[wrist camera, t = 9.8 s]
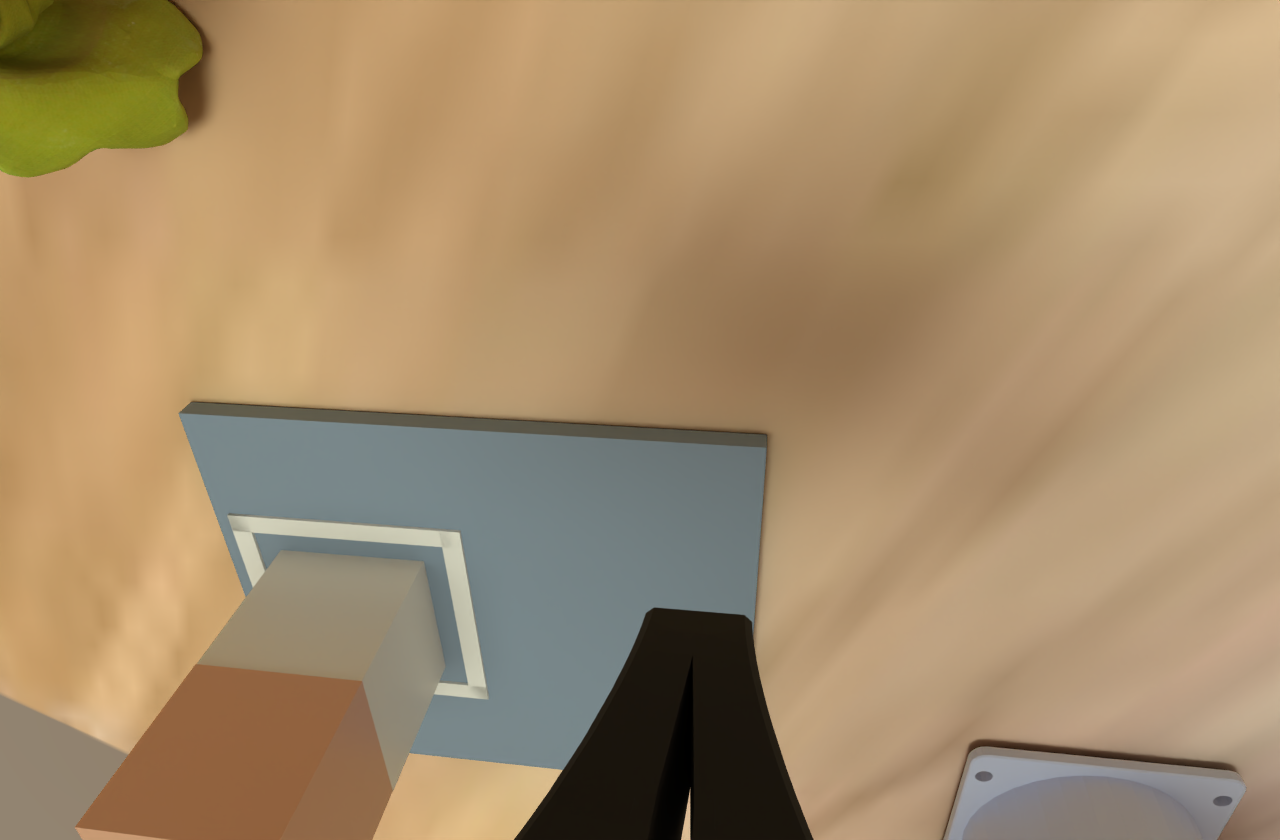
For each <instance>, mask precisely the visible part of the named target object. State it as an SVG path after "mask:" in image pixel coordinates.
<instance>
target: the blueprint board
mask: <svg viewBox="0 0 1280 840" xmlns="http://www.w3.org/2000/svg"><path fill="white" fill-rule="evenodd" d="M179 416H180V419H181V421H182V424H183V427H184V430H185V432H186V435H187V438H188V440H189V443H190V446H191V449H192V451H193V454H194V457H195V460H196V462H197V465H198V468H199V470H200V473H201V476H202V479H203V481H204V484H205V487H206V490H207V492H208V495H209V498H210V500H211V503H212V506H213V509H214V511H215V514H216V517H217V520H218V522H219V525H220V528H221V531H222V533H223V536H224V539H225V541H226V544H227V547H228V550H229V552H230V555H231V558H232V561H233V563H234V566H235V569H236V571H237V574H238V577H239V580H240V582H241V585H242V588H243V591H244V593H245V596H246V597H247V595H248V594H249V593H250V591H251V590H252V588H253V587H254V586H255V584H256V583H257V582H258V580H259V579H260V578H261V576H262V575H263V574H264V572H265V571H266V570H267V568H268V567H269V566H270V564H271V563H272V561H273V560H274V559H275V557H276V556H277V555H278V553H279V552H280V551H281V550H287V551H300V552H313V553H325V554H338V555H350V556H363V557H376V558H388V559H401V560H413V561H424V564H425V569H426V574H427V579H428V584H429V588H430V593H431V598H432V603H433V608H434V613H435V617H436V622H437V627H438V632H439V637H440V642H441V646H442V651H443V656H444V661H445V666H446V667H445V669H444V671H443V674H442V676H441V679H440V681H439V683H438V686H437V688H436V690H435V693H434V695H433V698H432V700H431V702H430V705H429V707H428V709H427V712H426V714H425V717H424V719H423V721H422V724H421V726H420V728H419V731H418V733H417V736H416V738H415V740H414V743H413V745H412V747H411V750H410V752H409V753H414V754H423V755H432V756H441V757H451V758H460V759H469V760H478V761H487V762H496V763H506V764H515V765H524V766H533V767H542V768H552V769H561V770H563V769H564V768H565V766H566V765H567V763H568V762H569V760H570V759H571V757H572V756H573V754H574V752H575V751H576V749H577V748H578V746H579V745H580V743H581V742H582V740H583V738H584V737H585V735H586V733H587V732H588V730H589V728H590V726H591V725H592V723H593V721H594V719H595V718H596V716H597V714H598V712H599V711H600V709H601V707H602V705H603V704H604V702H605V700H606V698H607V697H608V695H609V693H610V691H611V690H612V688H613V686H614V684H615V682H616V680H617V678H618V676H619V674H620V672H621V670H622V668H623V666H624V664H625V662H626V660H627V658H628V656H629V654H630V652H631V649H632V647H633V645H634V643H635V640H636V638H637V636H638V633H639V631H640V628H641V626H642V623H643V620H644V617H645V614H646V612H648V611H649V610H651V609H652V608H654V607H656V608H668V609H680V610H692V611H704V612H716V613H728V614H740V615H745V616H746V617H747V618H749V619H750V620H751V621H752V629H753V631H754V617H755V603H756V589H757V575H758V561H759V548H760V534H761V520H762V506H763V492H764V478H765V464H766V450H767V435H763V434H745V433H728V432H710V431H692V430H675V429H657V428H639V427H622V426H604V425H587V424H569V423H551V422H534V421H516V420H499V419H481V418H463V417H446V416H428V415H411V414H393V413H375V412H358V411H340V410H323V409H305V408H287V407H270V406H252V405H234V404H217V403H199V402H191V403H190V404H188V405H187V406H186V407H185V408H184V409H183V410H182V411H181V412H179Z"/></svg>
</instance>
